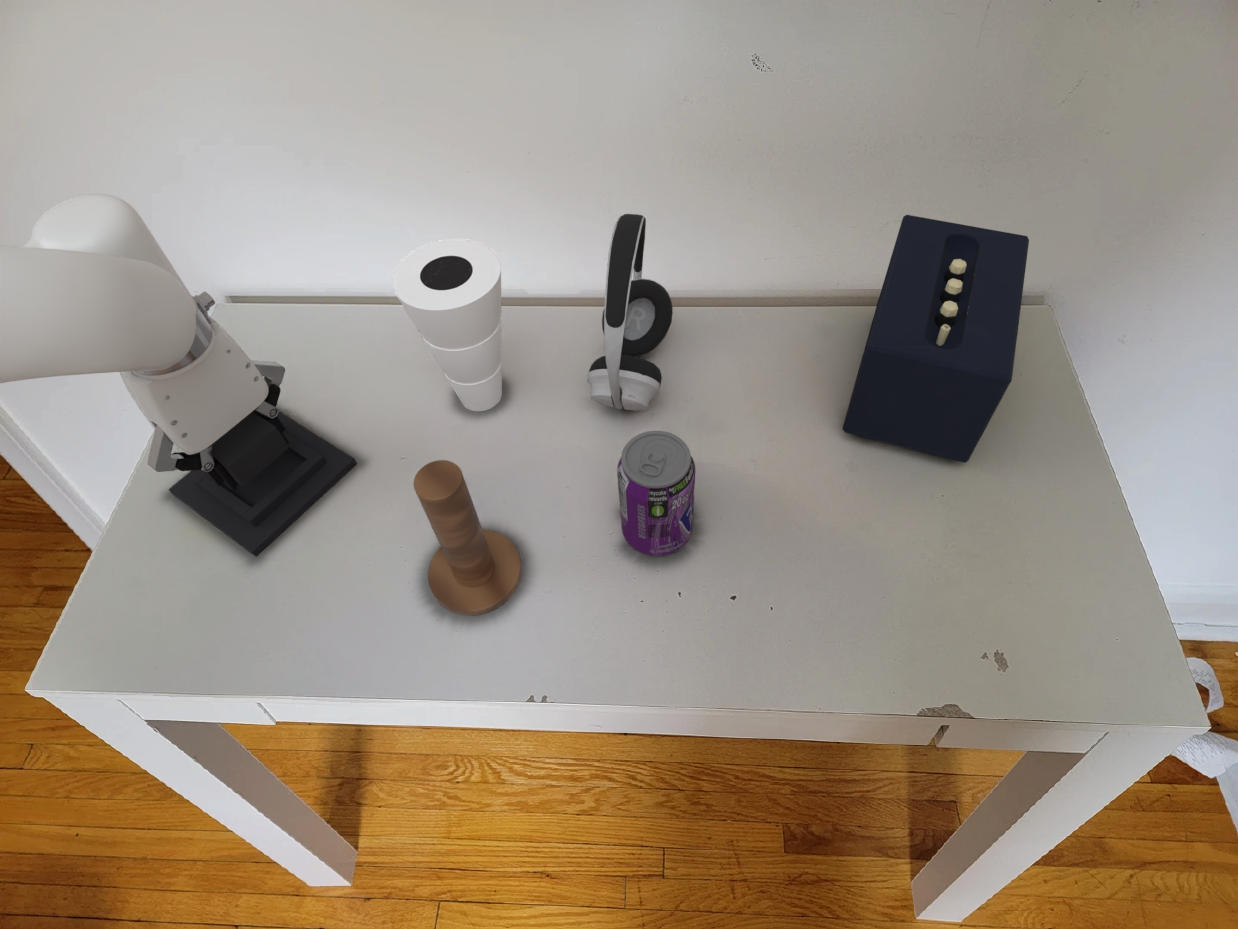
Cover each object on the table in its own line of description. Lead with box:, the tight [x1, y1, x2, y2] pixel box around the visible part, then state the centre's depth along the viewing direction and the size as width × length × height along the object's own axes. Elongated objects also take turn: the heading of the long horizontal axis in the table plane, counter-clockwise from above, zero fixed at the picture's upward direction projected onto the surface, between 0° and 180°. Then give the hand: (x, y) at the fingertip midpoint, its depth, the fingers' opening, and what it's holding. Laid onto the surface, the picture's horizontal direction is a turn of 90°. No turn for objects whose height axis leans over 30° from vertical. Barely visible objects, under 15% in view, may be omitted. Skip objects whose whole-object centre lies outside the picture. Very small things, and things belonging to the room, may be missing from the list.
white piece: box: [391, 237, 503, 412], centre depth 82 cm, size 11×11×18 cm
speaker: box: [842, 214, 1030, 464], centre depth 81 cm, size 22×13×15 cm, turn 159°
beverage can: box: [616, 430, 696, 557], centre depth 72 cm, size 7×7×12 cm
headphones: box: [586, 213, 674, 411], centre depth 82 cm, size 19×8×20 cm, turn 172°
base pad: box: [168, 411, 358, 557], centre depth 82 cm, size 14×14×2 cm
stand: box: [413, 459, 523, 617], centre depth 69 cm, size 9×9×16 cm
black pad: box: [211, 412, 289, 486], centre depth 78 cm, size 6×6×4 cm
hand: (252, 459), depth 81 cm, fingers closed on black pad, 6 cm apart
